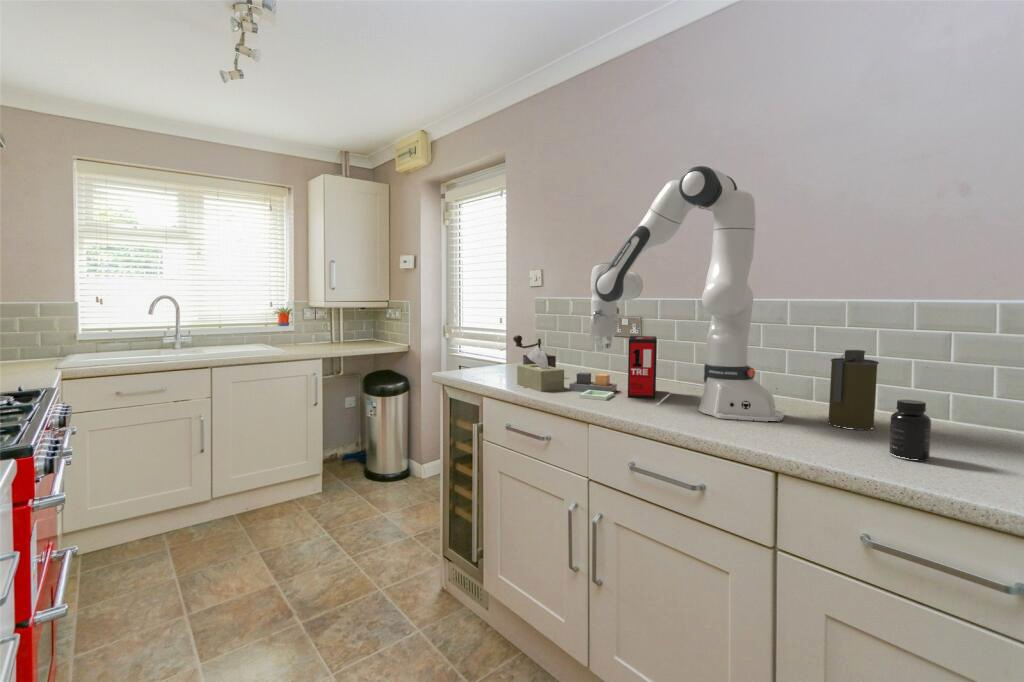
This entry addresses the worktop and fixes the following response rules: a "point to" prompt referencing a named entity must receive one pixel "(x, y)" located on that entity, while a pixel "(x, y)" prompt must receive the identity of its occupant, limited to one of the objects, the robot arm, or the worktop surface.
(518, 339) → the pepper mill
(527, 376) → the tissue box
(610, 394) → the tray
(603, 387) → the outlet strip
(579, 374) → the black plug
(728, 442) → the worktop surface
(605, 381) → the orange plug
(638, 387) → the cleaning product box
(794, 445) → the worktop surface
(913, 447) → the supplement bottle
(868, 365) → the canister
